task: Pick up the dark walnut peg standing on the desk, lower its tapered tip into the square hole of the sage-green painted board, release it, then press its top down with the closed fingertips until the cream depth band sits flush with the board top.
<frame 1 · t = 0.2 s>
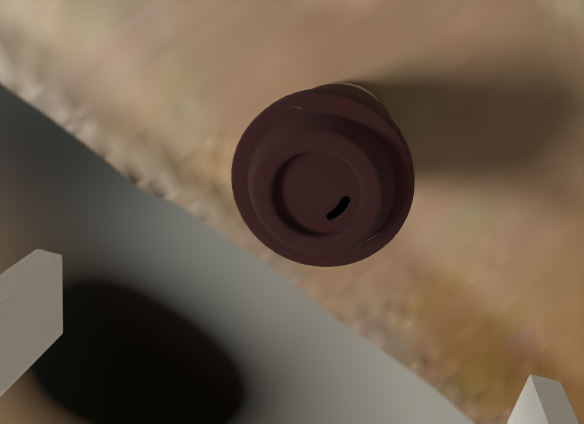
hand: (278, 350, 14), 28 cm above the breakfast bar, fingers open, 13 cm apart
coffee cup: (341, 128, 40), on the breakfast bar
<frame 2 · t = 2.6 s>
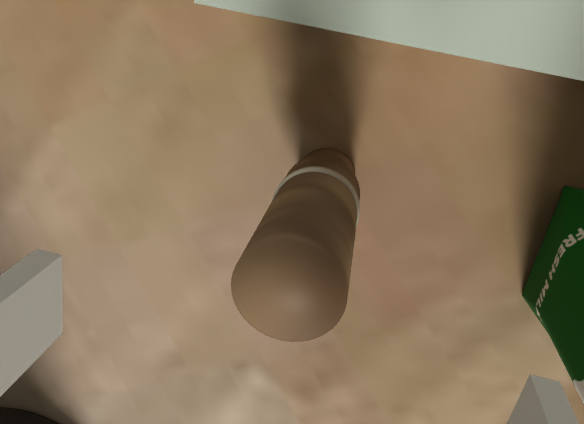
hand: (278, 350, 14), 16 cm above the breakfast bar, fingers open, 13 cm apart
peg: (326, 175, 29), on the breakfast bar
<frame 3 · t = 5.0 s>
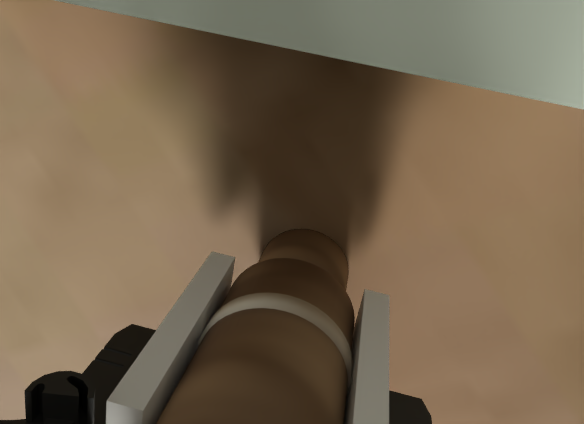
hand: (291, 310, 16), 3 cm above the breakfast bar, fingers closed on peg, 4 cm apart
peg: (304, 269, 19), on the breakfast bar, touching gripper
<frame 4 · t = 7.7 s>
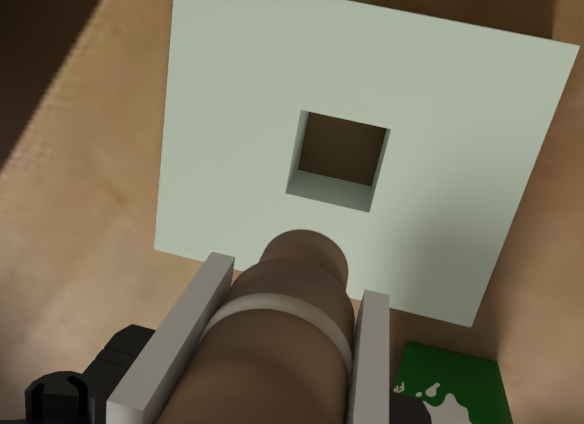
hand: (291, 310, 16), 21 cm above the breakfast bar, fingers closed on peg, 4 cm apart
milk carton: (439, 382, 42), on the breakfast bar
peg: (304, 269, 19), point 19 cm above the breakfast bar, touching gripper
board: (342, 142, 36), on the breakfast bar
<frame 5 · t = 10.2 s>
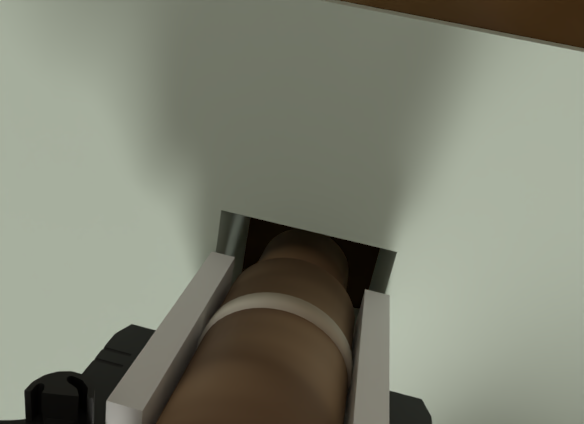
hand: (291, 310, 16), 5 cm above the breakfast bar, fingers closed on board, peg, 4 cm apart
peg: (304, 269, 19), point 3 cm above the breakfast bar, touching gripper
board: (313, 239, 21), on the breakfast bar
when the fingers open (5 cm above the breakfast bar, at t = 10.9 s): peg drops 3 cm, resting in board.
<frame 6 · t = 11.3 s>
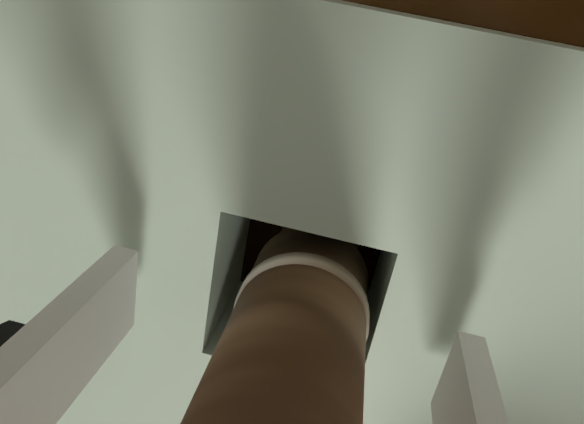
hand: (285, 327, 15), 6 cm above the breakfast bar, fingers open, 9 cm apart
peg: (319, 240, 21), resting in board
board: (313, 240, 21), on the breakfast bar
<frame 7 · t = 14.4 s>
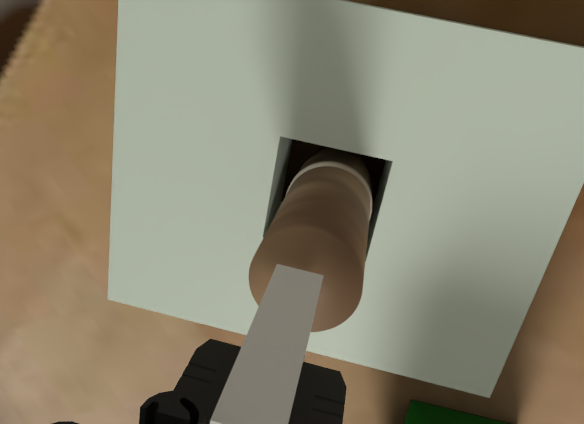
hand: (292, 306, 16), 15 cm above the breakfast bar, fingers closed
peg: (338, 170, 30), resting in board
board: (334, 170, 30), on the breakfast bar
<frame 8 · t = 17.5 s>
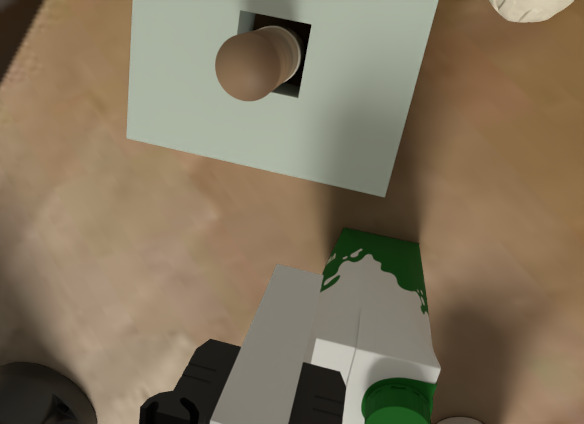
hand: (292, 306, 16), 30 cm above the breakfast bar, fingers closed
milk carton: (372, 265, 49), on the breakfast bar
peg: (285, 49, 43), resting in board
board: (282, 49, 43), on the breakfast bar
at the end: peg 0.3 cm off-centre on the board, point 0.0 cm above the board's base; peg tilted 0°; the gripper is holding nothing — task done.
